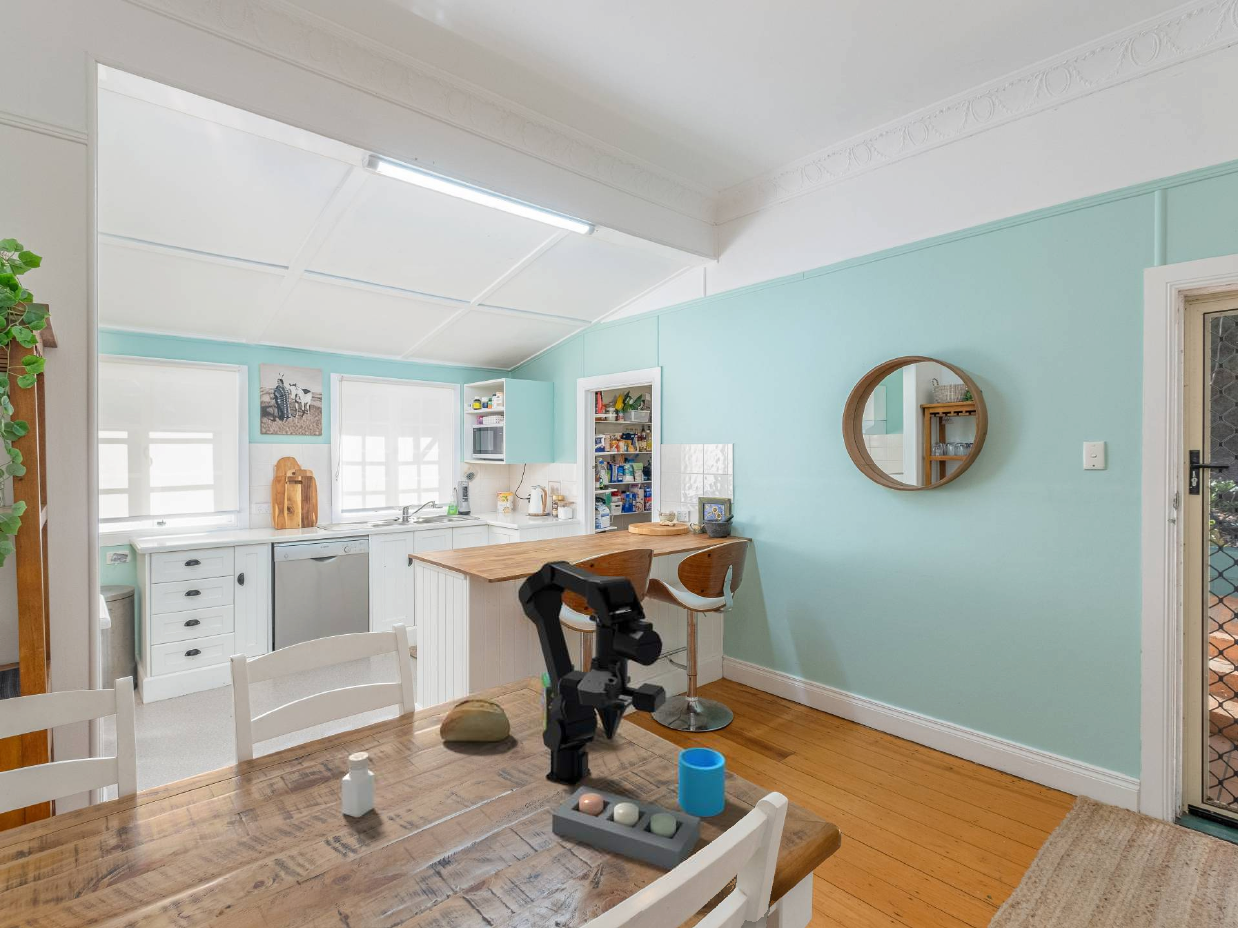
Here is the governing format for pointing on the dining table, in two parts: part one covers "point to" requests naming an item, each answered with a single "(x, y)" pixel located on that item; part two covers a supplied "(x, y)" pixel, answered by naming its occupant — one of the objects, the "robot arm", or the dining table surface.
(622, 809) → the cream button
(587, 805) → the terracotta button
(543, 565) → the robot arm
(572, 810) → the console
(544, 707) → the chalk box
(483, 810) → the dining table surface
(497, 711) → the bread roll
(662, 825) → the sage button
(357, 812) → the pepper shaker
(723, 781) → the mug
